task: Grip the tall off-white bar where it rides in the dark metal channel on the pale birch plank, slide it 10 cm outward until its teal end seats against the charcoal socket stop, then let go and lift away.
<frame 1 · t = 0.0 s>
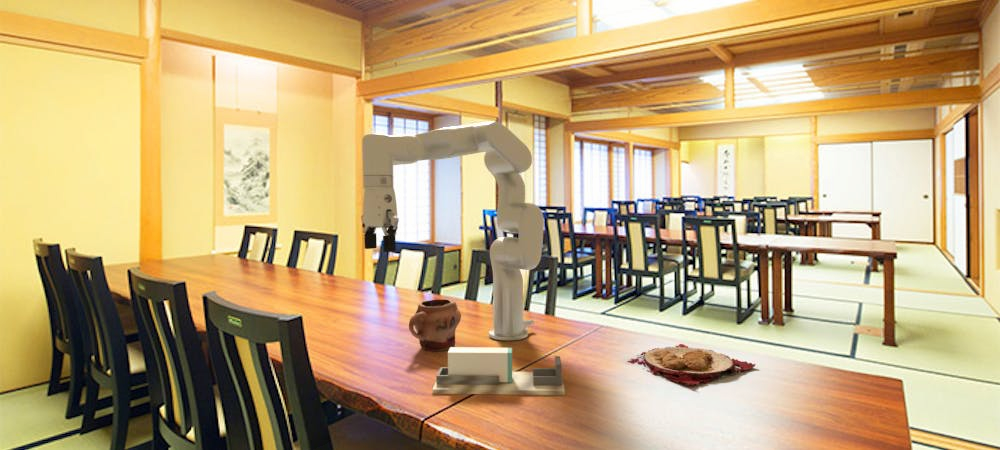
hand: (379, 249, 130), 31 cm above the table, fingers open, 9 cm apart
socket: (546, 370, 120), point 4 cm above the table
white teal block: (480, 364, 121), point 5 cm above the table, slide at 0.0 cm
plate with food: (684, 367, 134), on the table
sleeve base: (499, 384, 121), on the table
brown clay mug: (434, 349, 149), on the table
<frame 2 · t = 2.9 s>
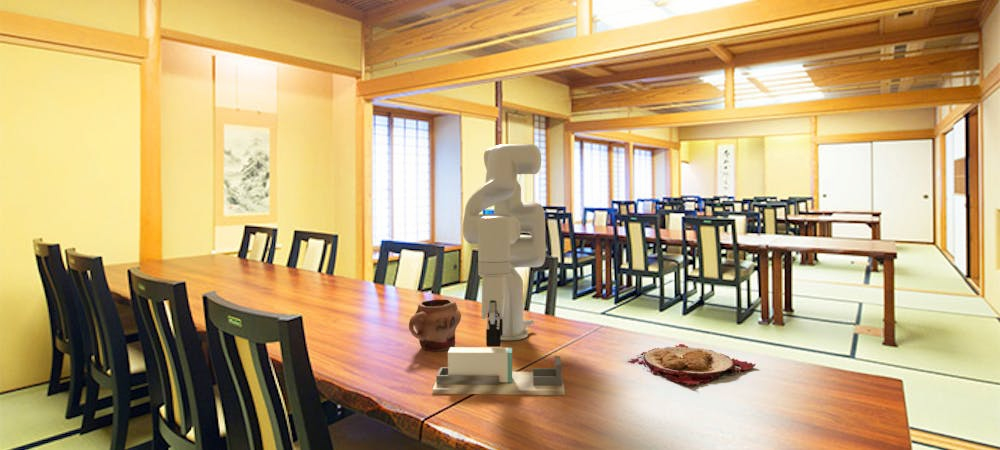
hand: (494, 340, 120), 11 cm above the table, fingers open, 9 cm apart
nothing on the table moved.
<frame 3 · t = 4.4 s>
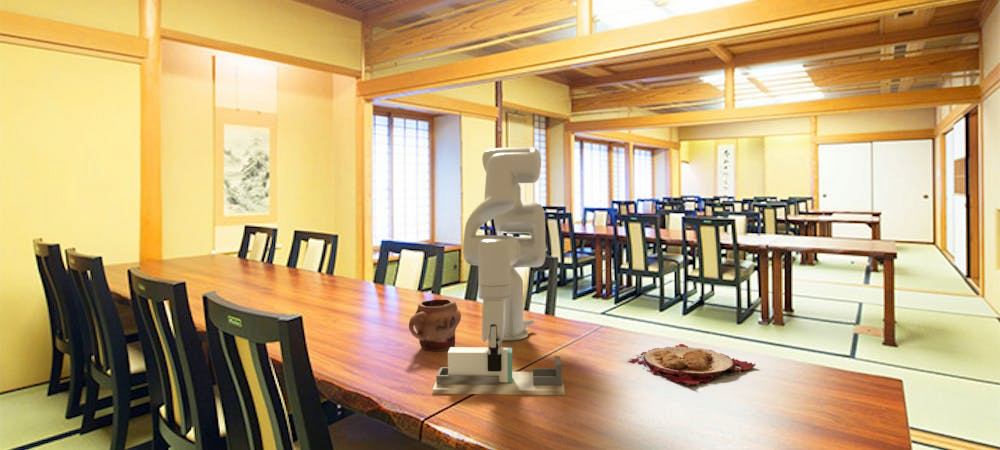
hand: (495, 366, 121), 4 cm above the table, fingers closed on white teal block, 4 cm apart
white teal block: (480, 364, 121), point 5 cm above the table, slide at 0.0 cm, touching gripper
everything else where it was.
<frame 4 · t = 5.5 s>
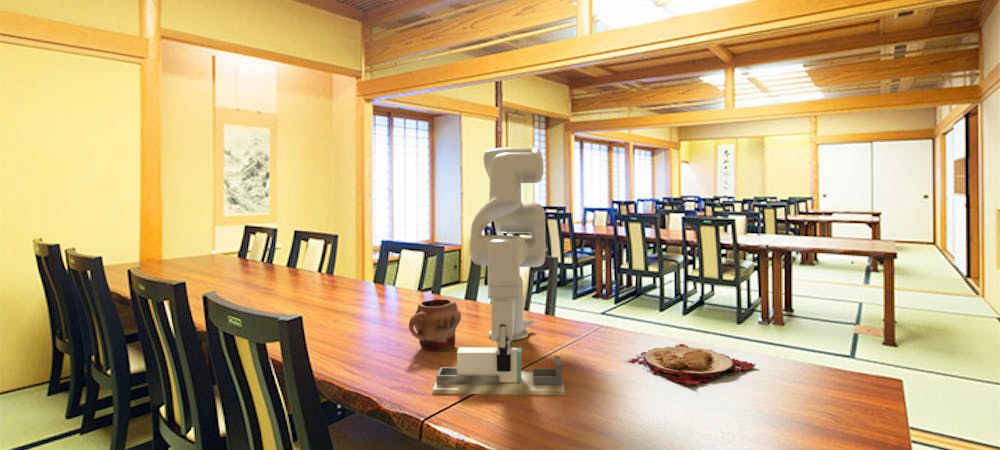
hand: (504, 366, 120), 4 cm above the table, fingers closed on white teal block, 4 cm apart
white teal block: (489, 364, 121), point 5 cm above the table, slide at 2.2 cm, touching gripper
everything else where it was.
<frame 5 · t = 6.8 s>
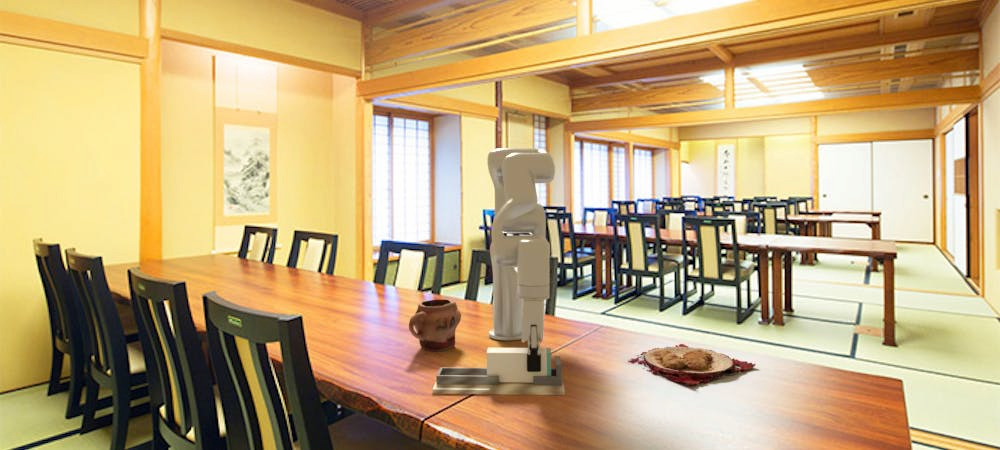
hand: (533, 367, 120), 4 cm above the table, fingers closed on white teal block, 4 cm apart
white teal block: (519, 364, 120), point 5 cm above the table, slide at 9.2 cm, touching gripper
everything else where it was.
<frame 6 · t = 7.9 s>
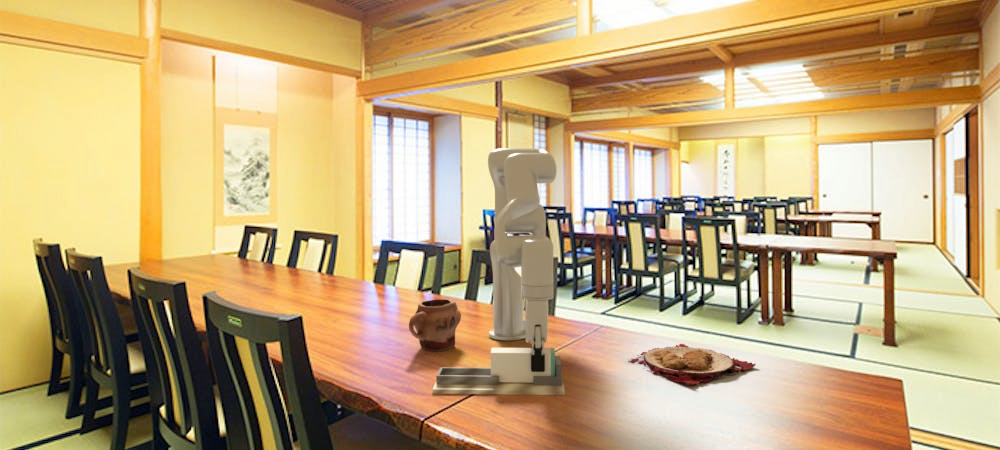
hand: (537, 367, 120), 4 cm above the table, fingers closed on white teal block, 4 cm apart
white teal block: (522, 364, 120), point 5 cm above the table, slide at 10.1 cm, touching gripper
everything else where it was.
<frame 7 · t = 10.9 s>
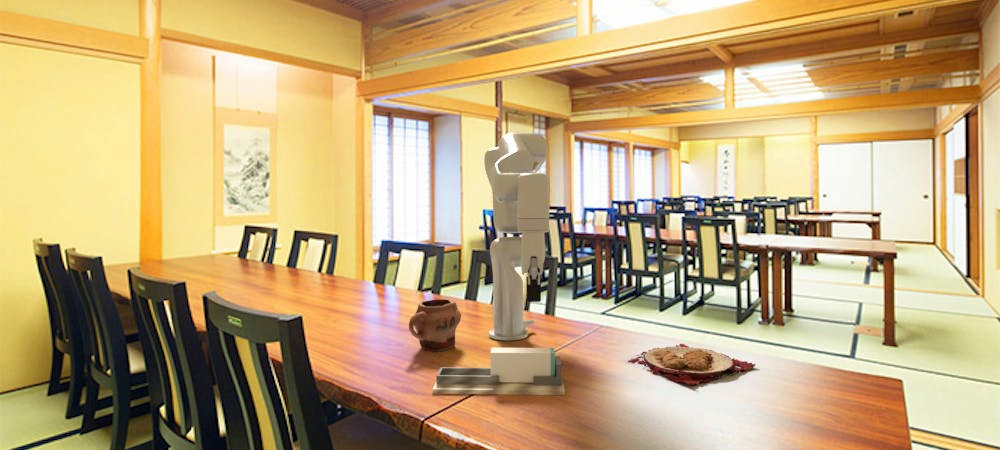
hand: (533, 296, 121), 21 cm above the table, fingers open, 9 cm apart
white teal block: (522, 364, 120), point 5 cm above the table, slide at 10.0 cm
everything else where it was.
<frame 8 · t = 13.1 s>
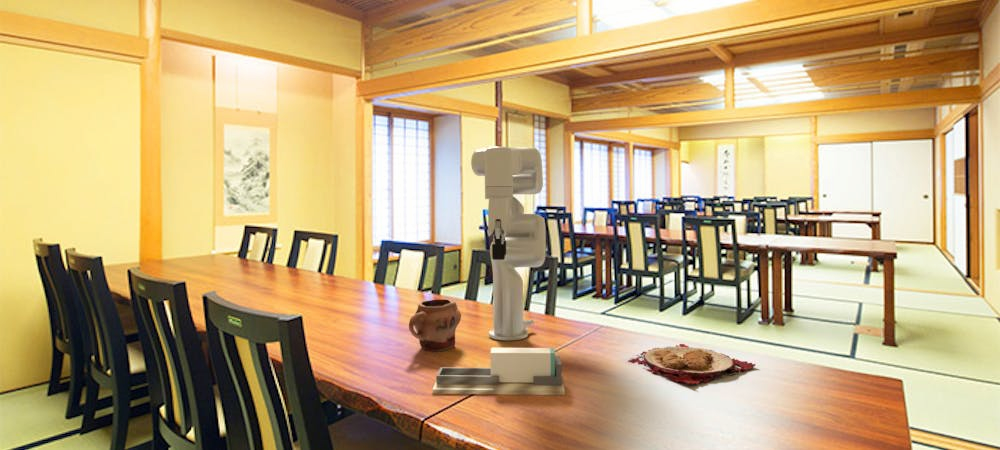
hand: (499, 257, 137), 28 cm above the table, fingers open, 9 cm apart
nothing on the table moved.
at the end: white teal block slide at 10.0 cm; the gripper is holding nothing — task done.
